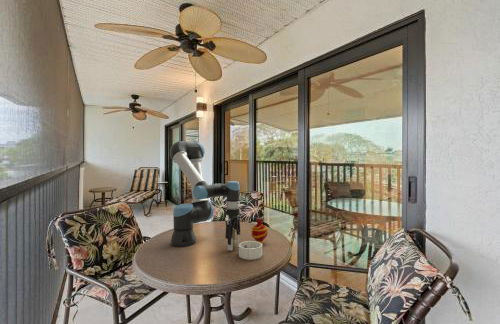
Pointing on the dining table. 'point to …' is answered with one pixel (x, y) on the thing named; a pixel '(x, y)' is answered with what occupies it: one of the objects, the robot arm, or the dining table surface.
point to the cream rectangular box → (234, 239)
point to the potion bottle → (259, 231)
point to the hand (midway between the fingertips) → (233, 247)
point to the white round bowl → (250, 250)
